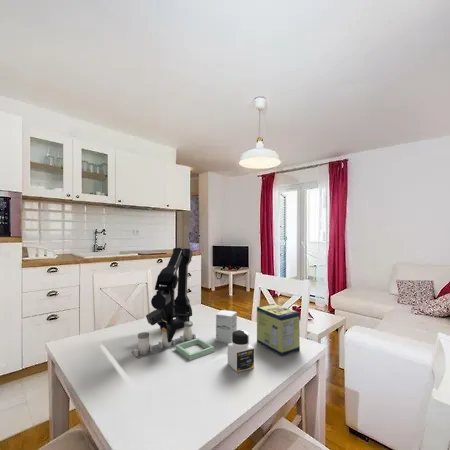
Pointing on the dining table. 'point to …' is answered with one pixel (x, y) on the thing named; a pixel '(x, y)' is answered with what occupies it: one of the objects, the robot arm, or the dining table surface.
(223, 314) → the supplement box
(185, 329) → the block
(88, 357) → the dining table surface
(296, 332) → the protein box
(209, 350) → the tray
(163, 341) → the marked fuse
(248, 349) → the medicine bottle
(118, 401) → the dining table surface
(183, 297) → the robot arm
